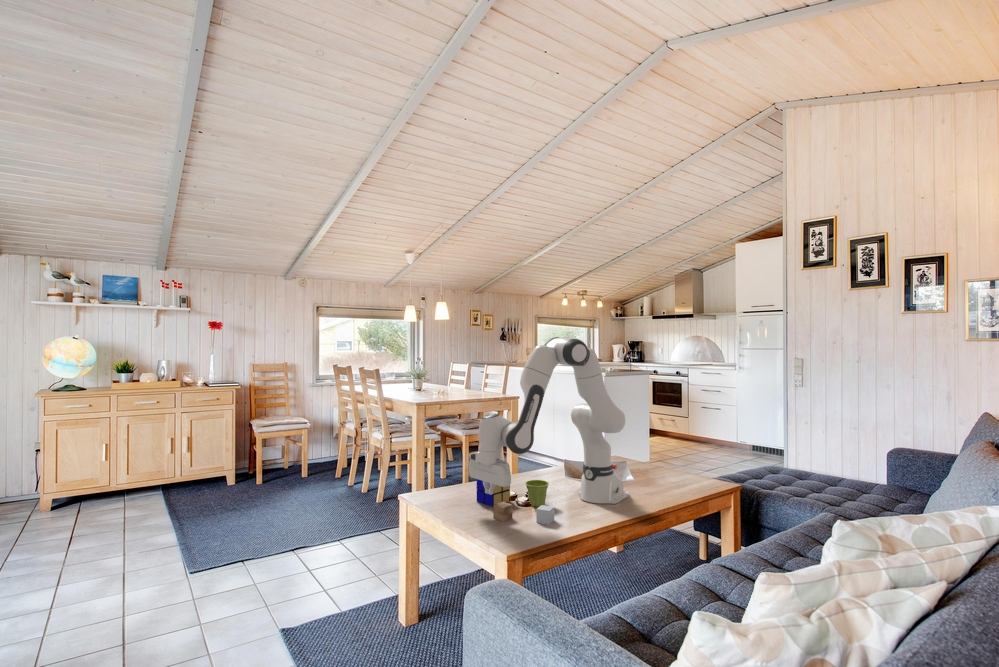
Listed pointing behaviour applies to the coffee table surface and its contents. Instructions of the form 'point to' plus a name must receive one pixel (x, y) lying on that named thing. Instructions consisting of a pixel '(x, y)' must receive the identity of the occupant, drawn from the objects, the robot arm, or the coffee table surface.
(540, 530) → the coffee table surface
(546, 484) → the plant pot
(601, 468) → the robot arm
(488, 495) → the puzzle cube
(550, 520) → the grey-blue block
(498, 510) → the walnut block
